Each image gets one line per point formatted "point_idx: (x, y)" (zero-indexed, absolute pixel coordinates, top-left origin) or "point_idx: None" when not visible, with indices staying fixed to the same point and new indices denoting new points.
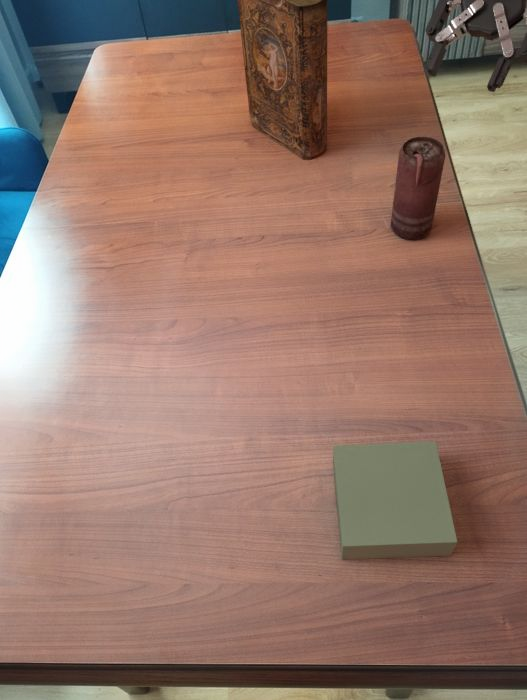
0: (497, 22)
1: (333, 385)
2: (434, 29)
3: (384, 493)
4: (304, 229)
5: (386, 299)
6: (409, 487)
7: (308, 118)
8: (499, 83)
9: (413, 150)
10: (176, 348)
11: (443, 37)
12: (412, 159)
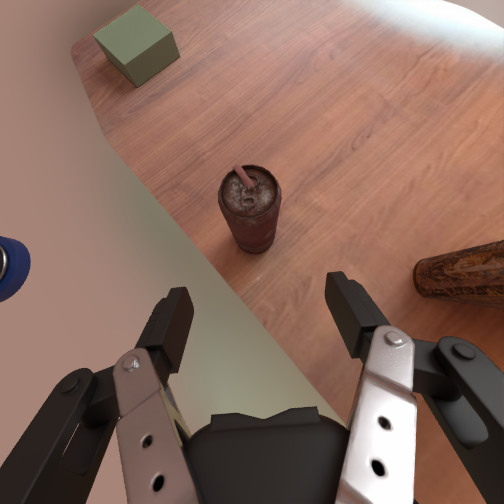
0: (179, 470)
1: (209, 87)
2: (445, 358)
3: (134, 30)
4: (332, 177)
5: (223, 158)
6: (124, 39)
7: (470, 251)
8: (160, 302)
9: (259, 185)
10: (311, 47)
11: (379, 340)
12: (247, 166)
